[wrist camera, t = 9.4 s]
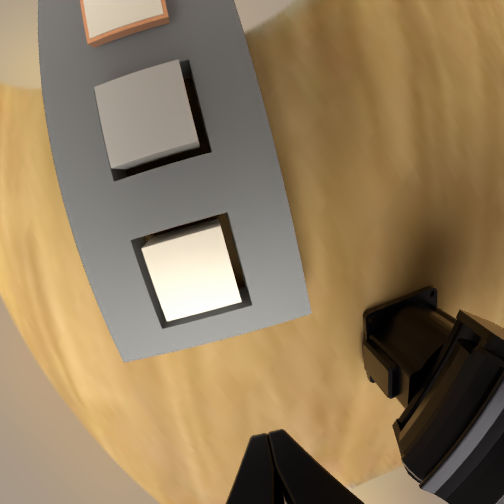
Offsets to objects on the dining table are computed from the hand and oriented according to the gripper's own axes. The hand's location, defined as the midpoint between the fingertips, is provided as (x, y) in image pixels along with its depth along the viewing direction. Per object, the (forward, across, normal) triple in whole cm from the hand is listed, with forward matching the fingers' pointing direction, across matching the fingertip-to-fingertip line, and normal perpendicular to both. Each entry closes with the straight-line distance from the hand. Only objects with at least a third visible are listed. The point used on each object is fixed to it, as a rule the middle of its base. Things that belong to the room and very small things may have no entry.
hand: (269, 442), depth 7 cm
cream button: (+12, +2, -2) cm, 13 cm away
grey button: (+11, +2, -10) cm, 15 cm away
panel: (+12, +2, -10) cm, 16 cm away
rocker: (+8, +3, -18) cm, 20 cm away
